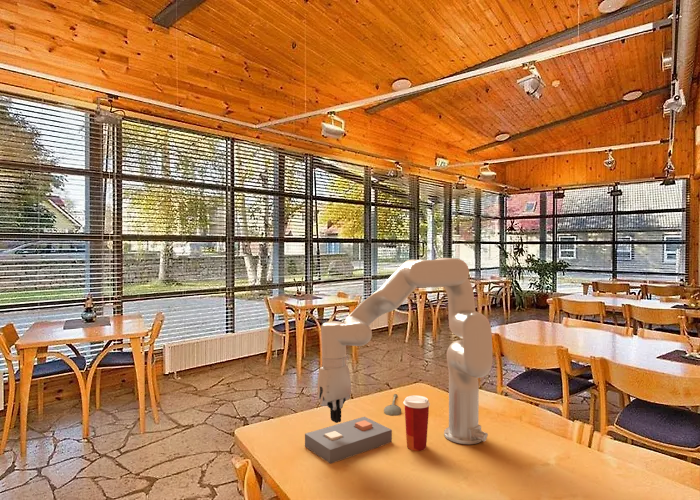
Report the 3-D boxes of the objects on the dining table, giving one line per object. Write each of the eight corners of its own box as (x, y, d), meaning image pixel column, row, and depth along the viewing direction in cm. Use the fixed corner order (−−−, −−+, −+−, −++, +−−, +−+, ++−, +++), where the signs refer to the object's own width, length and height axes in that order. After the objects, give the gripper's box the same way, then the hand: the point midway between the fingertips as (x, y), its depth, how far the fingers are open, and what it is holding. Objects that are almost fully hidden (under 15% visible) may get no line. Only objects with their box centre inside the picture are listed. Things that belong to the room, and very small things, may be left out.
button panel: (391, 442, 141) (391, 429, 141) (330, 463, 127) (330, 449, 127) (364, 428, 152) (364, 416, 152) (304, 446, 138) (304, 433, 138)
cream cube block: (342, 448, 135) (342, 435, 136) (331, 452, 133) (331, 438, 133) (334, 444, 139) (334, 430, 139) (324, 447, 136) (324, 433, 136)
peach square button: (372, 436, 143) (372, 423, 143) (362, 440, 140) (362, 426, 140) (364, 432, 146) (364, 420, 146) (354, 435, 143) (355, 422, 144)
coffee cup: (432, 444, 140) (432, 397, 140) (425, 454, 132) (426, 405, 132) (407, 439, 143) (407, 393, 143) (399, 449, 136) (399, 401, 136)
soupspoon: (382, 418, 164) (400, 420, 163) (383, 409, 164) (400, 411, 163) (388, 396, 186) (403, 398, 185) (388, 389, 186) (404, 390, 185)
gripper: (346, 355, 143) (348, 411, 144) (307, 364, 135) (309, 423, 135) (360, 360, 137) (362, 418, 138) (320, 369, 129) (322, 431, 129)
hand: (336, 421), depth 136 cm, fingers closed
